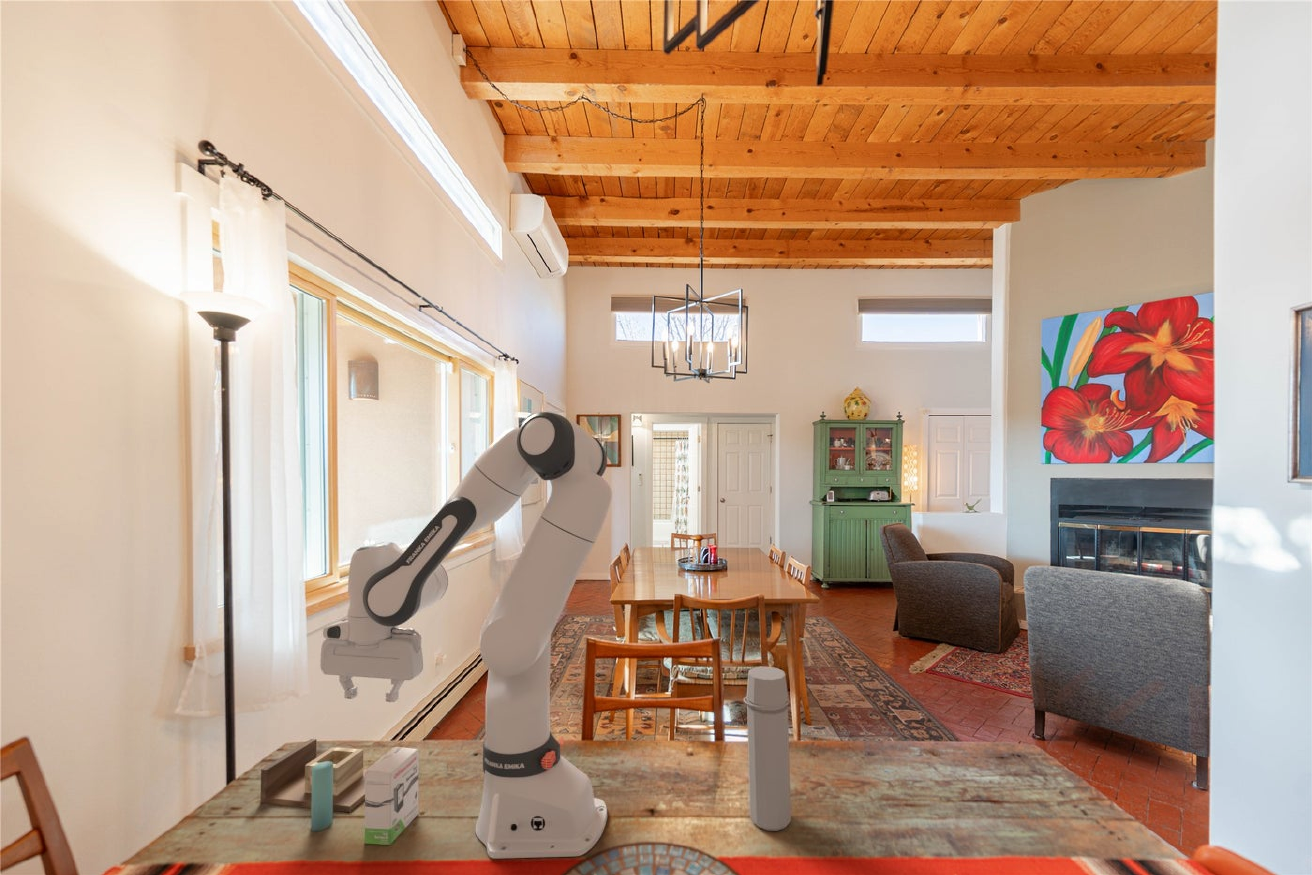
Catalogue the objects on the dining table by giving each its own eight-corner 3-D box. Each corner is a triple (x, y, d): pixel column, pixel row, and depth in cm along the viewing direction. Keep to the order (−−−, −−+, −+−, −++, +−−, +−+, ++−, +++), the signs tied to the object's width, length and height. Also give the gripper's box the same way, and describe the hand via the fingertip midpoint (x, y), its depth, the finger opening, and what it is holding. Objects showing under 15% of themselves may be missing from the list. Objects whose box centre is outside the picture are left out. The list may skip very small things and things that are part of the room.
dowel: (336, 819, 98) (337, 761, 99) (322, 831, 95) (323, 771, 96) (320, 818, 99) (321, 760, 100) (306, 829, 96) (307, 770, 96)
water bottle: (800, 830, 93) (796, 679, 95) (755, 836, 92) (751, 682, 93) (779, 798, 102) (775, 660, 104) (738, 803, 101) (735, 663, 102)
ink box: (390, 846, 91) (390, 772, 92) (362, 844, 92) (363, 771, 93) (419, 814, 100) (419, 746, 100) (393, 812, 100) (394, 745, 101)
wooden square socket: (363, 775, 111) (363, 749, 111) (337, 795, 104) (337, 768, 104) (332, 772, 112) (332, 746, 112) (304, 792, 105) (305, 765, 106)
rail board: (392, 775, 112) (392, 745, 113) (350, 811, 101) (350, 777, 101) (311, 768, 116) (311, 738, 116) (260, 802, 104) (261, 769, 104)
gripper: (430, 624, 110) (429, 696, 109) (339, 620, 113) (338, 689, 113) (410, 633, 103) (409, 710, 103) (315, 628, 107) (313, 702, 106)
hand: (371, 699), depth 108 cm, fingers open, 8 cm apart
